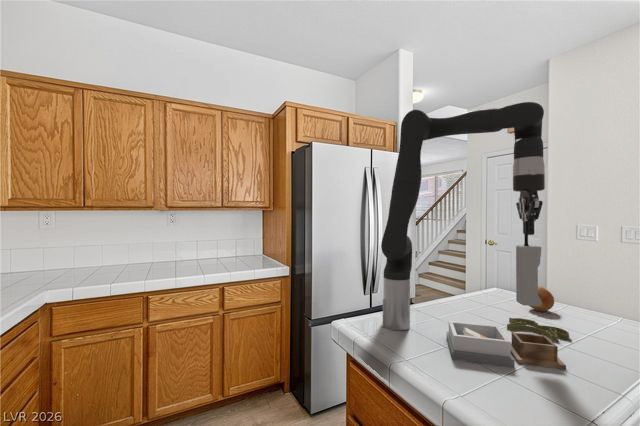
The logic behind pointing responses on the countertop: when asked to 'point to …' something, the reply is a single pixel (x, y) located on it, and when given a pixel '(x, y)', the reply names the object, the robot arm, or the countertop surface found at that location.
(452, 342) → the box
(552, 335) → the cookie cutter
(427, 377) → the countertop surface
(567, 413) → the countertop surface
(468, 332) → the plate
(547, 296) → the onion
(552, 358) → the stand
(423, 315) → the countertop surface
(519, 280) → the vintage mobile phone
